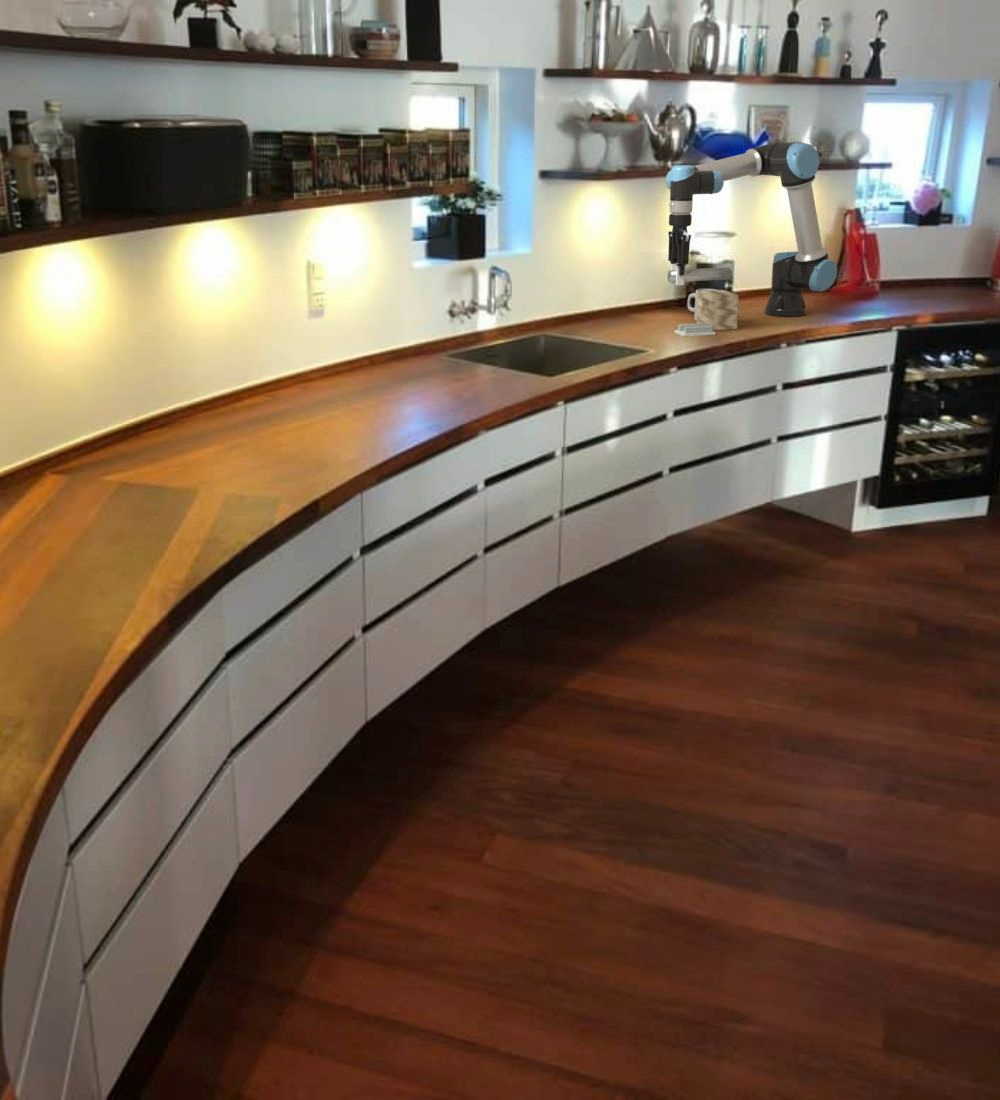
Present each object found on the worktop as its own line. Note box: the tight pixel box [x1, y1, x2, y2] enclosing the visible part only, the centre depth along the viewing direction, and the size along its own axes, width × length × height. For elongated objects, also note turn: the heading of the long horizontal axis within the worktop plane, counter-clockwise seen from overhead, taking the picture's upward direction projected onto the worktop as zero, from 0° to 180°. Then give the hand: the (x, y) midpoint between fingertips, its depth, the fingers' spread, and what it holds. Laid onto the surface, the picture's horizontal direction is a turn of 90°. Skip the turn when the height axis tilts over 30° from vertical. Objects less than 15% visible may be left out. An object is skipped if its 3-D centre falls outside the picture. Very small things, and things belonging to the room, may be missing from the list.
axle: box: [667, 266, 732, 283], centre depth 416 cm, size 22×4×4 cm, turn 106°
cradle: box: [673, 322, 717, 337], centre depth 423 cm, size 12×8×3 cm, turn 106°
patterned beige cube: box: [696, 289, 740, 331], centre depth 434 cm, size 10×12×12 cm
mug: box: [686, 288, 717, 322], centre depth 448 cm, size 12×8×11 cm
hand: (677, 284), depth 415 cm, fingers closed on axle, 4 cm apart
